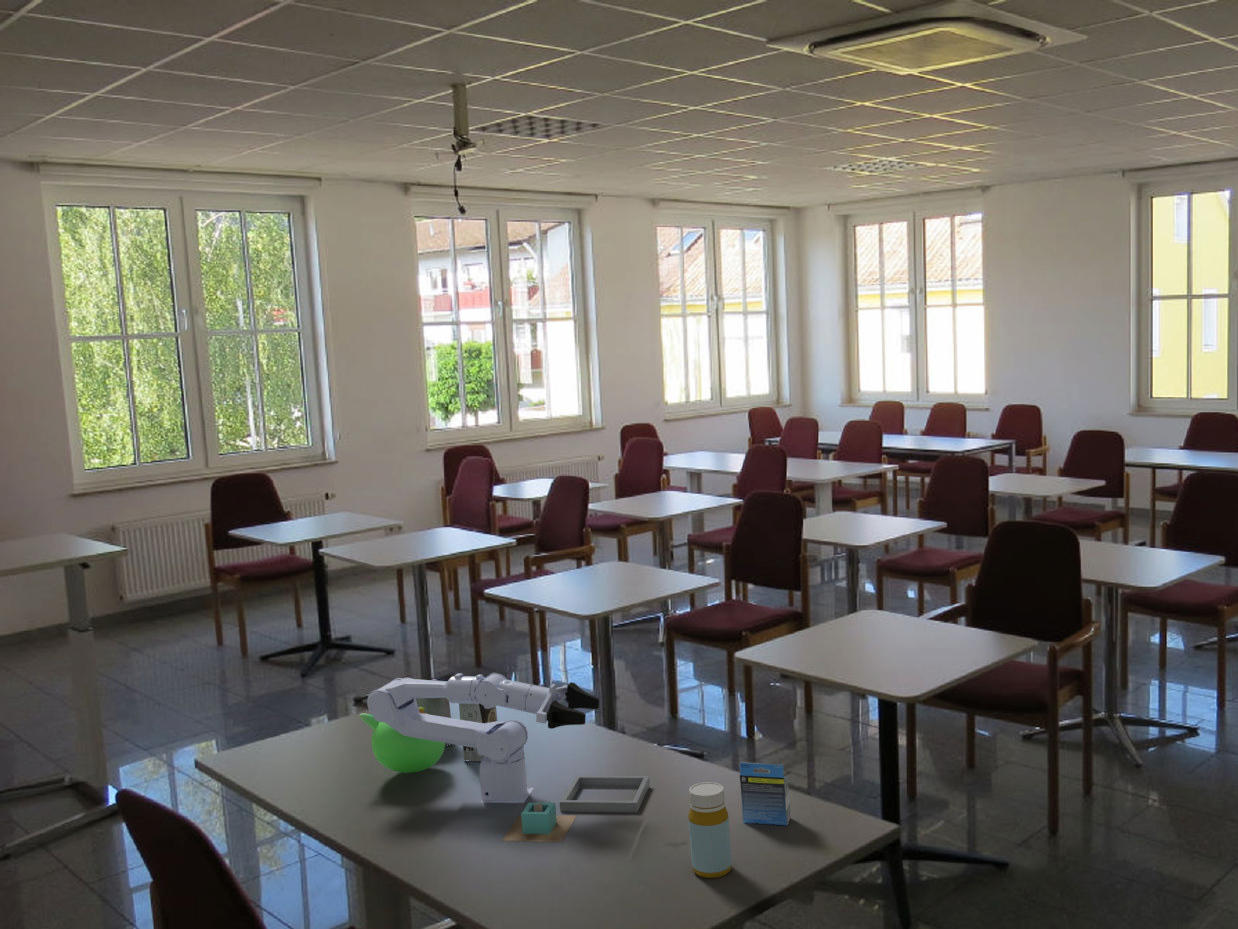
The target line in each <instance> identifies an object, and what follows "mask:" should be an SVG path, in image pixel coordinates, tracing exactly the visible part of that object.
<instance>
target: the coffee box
mask: <svg viewBox="0 0 1238 929" xmlns="http://www.w3.org/2000/svg"><path fill="white" fill-rule="evenodd" d="M458 710H459V720H466V721H472V722H478V723H490V722H496V721H498V716H497V715H498V713H497V706H494V707H493V708H490V709H485V708H484V706H483V705H481V704H461V703H458ZM462 756H463V761H464V760H465V761H464V762H467V761H466V760H469V761H468V762H481V761H482V759H483V758H484V757H486V756H483V755H479V754H478V752H477V749H476V748H472V747H466V746H462Z"/></svg>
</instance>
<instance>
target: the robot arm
mask: <svg viewBox="0 0 1238 929" xmlns="http://www.w3.org/2000/svg"><path fill="white" fill-rule="evenodd" d="M443 697H446V698H447V699H448V701H449V703H451V704H459V703H461V704H481V705H483V706H484V708H485V709H490V708H493V707H494V706H496V707H497V706H498V707H502V708H507V709H510V710H515V711H521V712H525V713H529V714H530V713H531V714H534V715H536V716H535V717H536V723H541V724H547V728H548V729H551V730H553V729H556V728H559V727H564V726H579V725H580V726H581V725H585V724H586V718H587V717H586V716H587V715H586V713H585V712H582V711H579V710H576V709H588V710H598V709H599V708H600V698H598V697H596V696H595V695H593V694H591V693H588V692H586V691H585V690H583V689H582V688H581V687H579V686H578V684H577V683H575V682H572V681H570V682H569V683H568V684H564V685H562V686H560V687H559V686H558V687H557V684H555V683H552V684H551V685H550V686H549V687H546V686H541V685H536V684H531V683H526V682H520V681H516V680H510V679H508V678H507V677H506V676H505V675H503V674H501V673H497V672H492V673H490V674H489V675H487V676H486V677H485V676H484V674H477V675H476V676H467V675H466V676H465V675H464V674H463V673H460V672H459V673H456V674H455V675H454V676H453V675H452V676H451V677H450V678H449V679H448V681H444V680H429V679H428V680H427V679H417V678H410V677H404V678H401V677H396V678H395V679H392V680H391V681H390V682H388V683H387V684H385V685H383V686H382V687H380V688H378V689H375V690H373V691H371V692H370V693H369V694H368V696H367V701H366V704H367V708H368V710H369V713H370V714H371V715H372V716H373V717H374V719H375V720H376V721H379V722H384V723H386V724H387V725H389V726H390V727H392V728H393V729H395V730H396V731H398V732H399V733H401V734H402V735H404V736H408V737H414V738H419V739H425V740H431V741H437V742H443V743H449V744H451V745H456V746H461V747H463V746H466V747H472V748H476V749H477V752H478V754H479V755H483V756H486V757H484V758H483V759H482V761H480V764H479V781H480V782H479V783H480V793H481V795H480V796H481V801H480V803H485V804H486V803H489V804H490V803H493V804H495V803H498V804H499V803H504V804H505V803H506V804H512V803H513V804H523V803H525V802H526V800H527V799H528V798H529V796H530V795H531V793H532V792H533V790H534V787H528V780H527V768H526V756H525V745H526V744H527V741H528V739H529V731H528V729H527V727H526V725H525V724H524V723H523V722H522V721H521V720H518V719H508V720H506V721H498V720H497V721H496V722H490V723H478V722H472V721H466V720H460V718H452V717H451V718H447V717H441V716H435V715H429V714H422V713H420V712H419V708H418V704H417V701H416V698H443ZM565 701H566V703H567V704H568V705H567V706H566V705H563V703H564V702H565Z"/></svg>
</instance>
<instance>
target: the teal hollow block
mask: <svg viewBox="0 0 1238 929" xmlns="http://www.w3.org/2000/svg"><path fill="white" fill-rule="evenodd" d="M535 804H542V810H543V812H534V805H535ZM520 815H521V819H522V830H523V834H550V832H551V831H552V829H553V827H554V826H555V824H556V823H557V819H556V815H557V810H556V802H528V803H527V805H526V806H525V807H524V809H523V810H522V812H521V814H520Z"/></svg>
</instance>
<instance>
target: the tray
mask: <svg viewBox="0 0 1238 929" xmlns="http://www.w3.org/2000/svg"><path fill="white" fill-rule="evenodd" d="M580 789H631V790H632V789H637V791H636V793H635V794H634V797H633V800H593V799H592V800H589V799H588V800H587V799H586V800H585V799H584V800H583V799H582V800H581V799H578V800H577V799H576V800H575V799H574V798H575V796H576V795H577V793H578V790H580ZM650 789H651V782H650V775H576V776H575V777H574V779H573V780H572V782H571V783H570V785H569V786H568V788H567V789H566V791H565V793H564V794H563V796H562V797H561V799H560V800H559V812H575V813H577V812H578V813H579V812H587V813H588V812H590V813H591V812H593V813H596V812H597V813H638V812H639V809H640V808H641V805H642V803H643V800H644V799H645V796H646V794H647V793H648V791H649V790H650Z"/></svg>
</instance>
